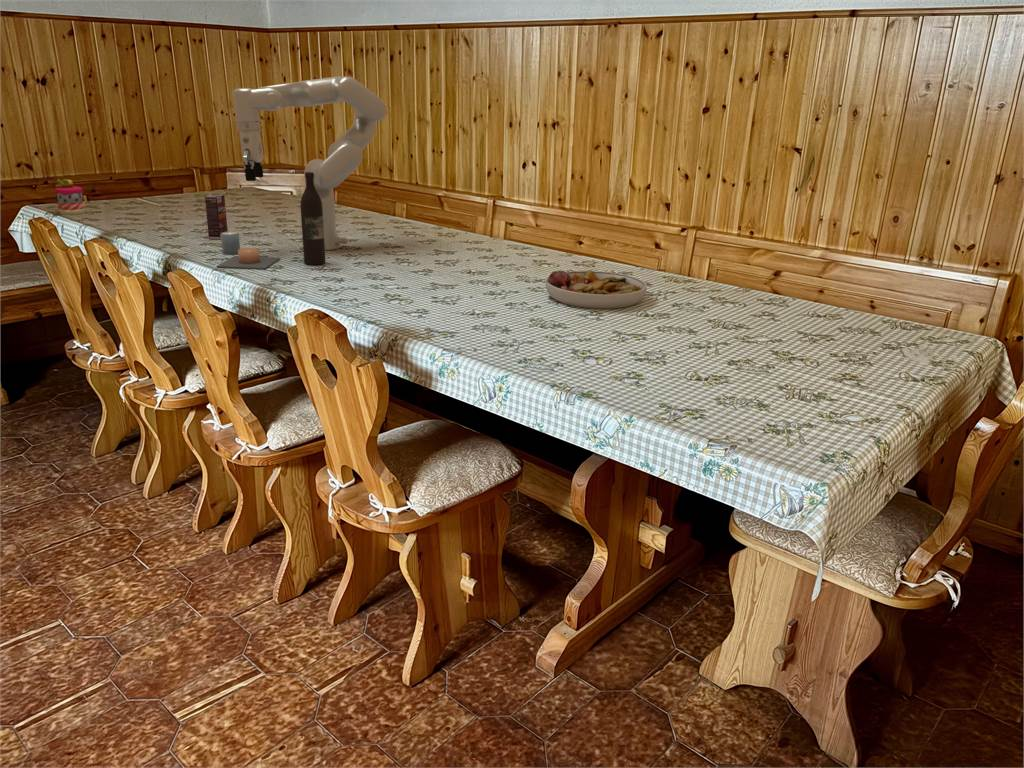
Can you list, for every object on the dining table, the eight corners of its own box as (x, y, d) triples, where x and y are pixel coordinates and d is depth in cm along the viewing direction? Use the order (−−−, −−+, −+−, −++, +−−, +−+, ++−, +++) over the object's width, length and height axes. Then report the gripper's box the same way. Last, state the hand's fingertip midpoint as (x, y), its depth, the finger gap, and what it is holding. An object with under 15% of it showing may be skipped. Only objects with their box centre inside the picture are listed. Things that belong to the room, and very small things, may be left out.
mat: (280, 259, 271) (280, 257, 271) (265, 269, 256) (265, 267, 256) (234, 257, 272) (234, 256, 271) (216, 267, 257) (216, 266, 256)
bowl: (635, 287, 250) (637, 262, 247) (654, 313, 222) (657, 286, 219) (541, 285, 249) (542, 260, 246) (548, 311, 221) (550, 283, 218)
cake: (61, 211, 349) (55, 176, 343) (88, 211, 352) (82, 176, 346) (56, 215, 339) (50, 179, 334) (83, 215, 342) (78, 179, 337)
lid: (262, 259, 267) (261, 248, 265) (256, 264, 261) (254, 252, 259) (243, 259, 267) (242, 247, 265) (236, 263, 261) (235, 251, 259)
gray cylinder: (243, 251, 282) (241, 231, 279) (236, 254, 276) (235, 234, 274) (226, 250, 282) (224, 231, 279) (220, 254, 276) (217, 234, 274)
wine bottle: (304, 265, 263) (298, 173, 252) (303, 261, 269) (297, 171, 259) (326, 265, 265) (321, 173, 254) (325, 260, 271) (319, 171, 261)
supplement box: (220, 239, 301) (216, 197, 295) (208, 239, 301) (203, 196, 295) (229, 235, 309) (224, 194, 303) (216, 235, 309) (212, 193, 303)
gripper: (252, 129, 258) (259, 182, 264) (266, 125, 274) (272, 175, 280) (229, 129, 258) (236, 182, 264) (244, 125, 274) (251, 175, 280)
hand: (254, 178), depth 272 cm, fingers open, 9 cm apart
